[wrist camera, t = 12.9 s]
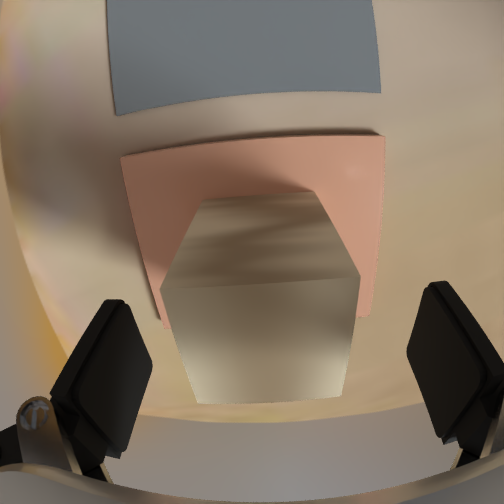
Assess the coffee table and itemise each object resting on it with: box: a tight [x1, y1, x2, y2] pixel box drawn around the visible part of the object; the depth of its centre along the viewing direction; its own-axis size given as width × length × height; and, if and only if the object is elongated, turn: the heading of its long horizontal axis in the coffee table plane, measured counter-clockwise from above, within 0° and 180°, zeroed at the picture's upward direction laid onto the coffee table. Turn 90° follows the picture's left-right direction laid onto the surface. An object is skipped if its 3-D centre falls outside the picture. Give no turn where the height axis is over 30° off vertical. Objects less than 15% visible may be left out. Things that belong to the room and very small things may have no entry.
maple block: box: [160, 192, 361, 404], centre depth 12 cm, size 5×5×7 cm
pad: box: [120, 134, 385, 329], centre depth 15 cm, size 12×10×1 cm
